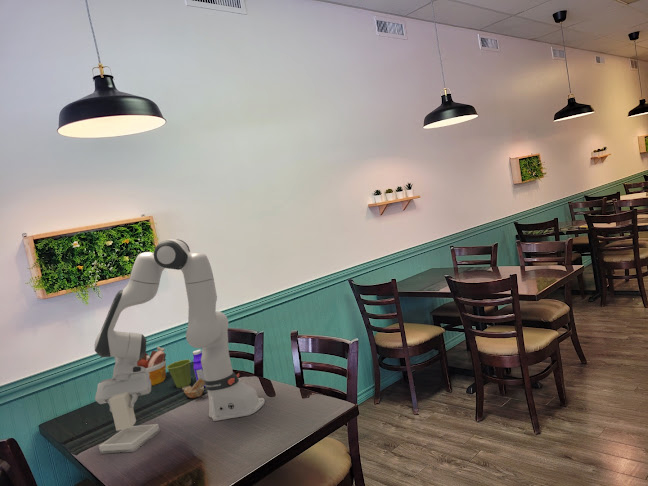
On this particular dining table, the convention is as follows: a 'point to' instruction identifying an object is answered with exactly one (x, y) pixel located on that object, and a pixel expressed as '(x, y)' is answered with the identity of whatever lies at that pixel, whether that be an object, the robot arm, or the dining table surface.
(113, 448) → the tray
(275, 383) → the dining table surface
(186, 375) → the plant pot
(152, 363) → the bucket of meat
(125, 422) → the white upright block
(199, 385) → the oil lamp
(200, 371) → the bottle
